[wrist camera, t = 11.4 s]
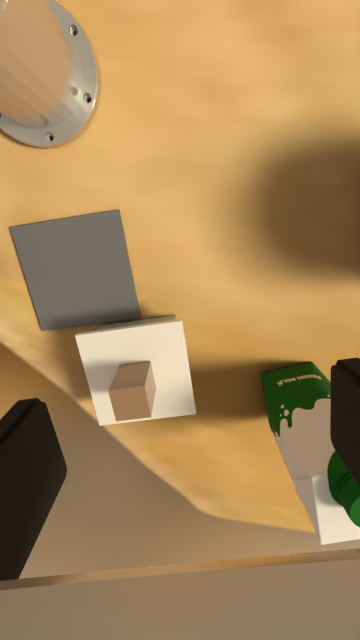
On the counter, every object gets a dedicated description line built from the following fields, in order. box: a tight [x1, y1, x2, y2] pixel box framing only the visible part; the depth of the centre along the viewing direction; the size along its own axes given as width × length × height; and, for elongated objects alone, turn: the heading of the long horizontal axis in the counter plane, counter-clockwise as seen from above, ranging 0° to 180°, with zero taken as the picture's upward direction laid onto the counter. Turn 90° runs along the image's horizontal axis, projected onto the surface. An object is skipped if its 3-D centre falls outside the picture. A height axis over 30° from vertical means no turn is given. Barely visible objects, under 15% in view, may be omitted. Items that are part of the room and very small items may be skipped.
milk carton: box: [261, 362, 360, 545], centre depth 32 cm, size 9×9×20 cm
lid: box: [75, 319, 196, 425], centre depth 32 cm, size 12×12×6 cm
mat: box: [10, 210, 140, 331], centre depth 37 cm, size 13×13×1 cm
